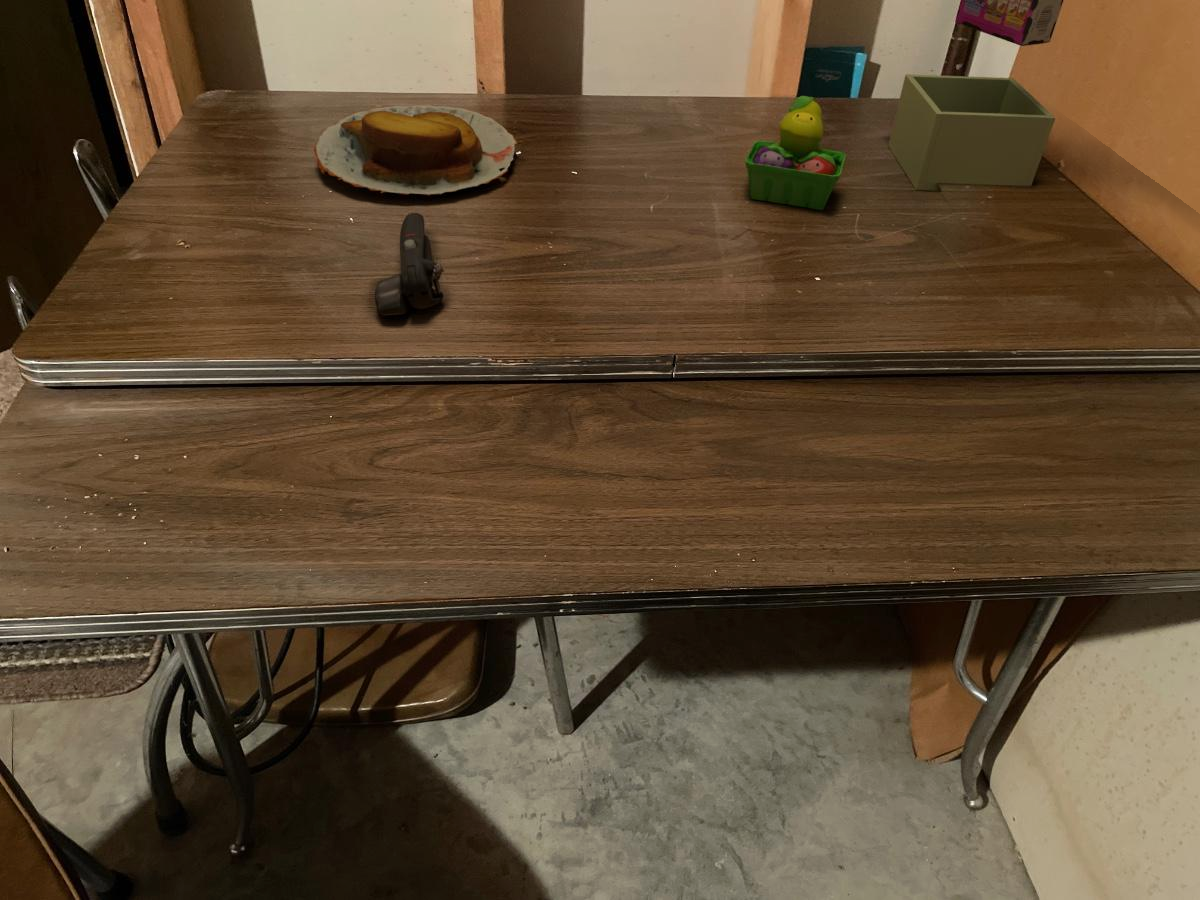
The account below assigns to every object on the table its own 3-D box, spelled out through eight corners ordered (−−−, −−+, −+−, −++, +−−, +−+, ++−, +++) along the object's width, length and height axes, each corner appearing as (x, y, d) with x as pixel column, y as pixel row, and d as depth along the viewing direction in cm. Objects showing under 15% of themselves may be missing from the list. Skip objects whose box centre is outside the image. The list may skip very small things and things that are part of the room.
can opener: (446, 325, 88) (442, 273, 85) (373, 327, 88) (365, 274, 84) (452, 240, 102) (448, 192, 98) (388, 240, 101) (382, 192, 98)
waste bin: (990, 149, 128) (1013, 78, 122) (1028, 194, 117) (1055, 117, 111) (887, 146, 128) (905, 74, 122) (915, 190, 117) (936, 113, 111)
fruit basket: (738, 201, 112) (751, 109, 105) (751, 174, 119) (764, 85, 112) (831, 217, 110) (851, 123, 103) (839, 188, 116) (858, 98, 109)
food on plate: (513, 126, 128) (512, 78, 124) (523, 204, 110) (522, 150, 105) (328, 127, 125) (320, 78, 121) (305, 207, 107) (295, 152, 102)
